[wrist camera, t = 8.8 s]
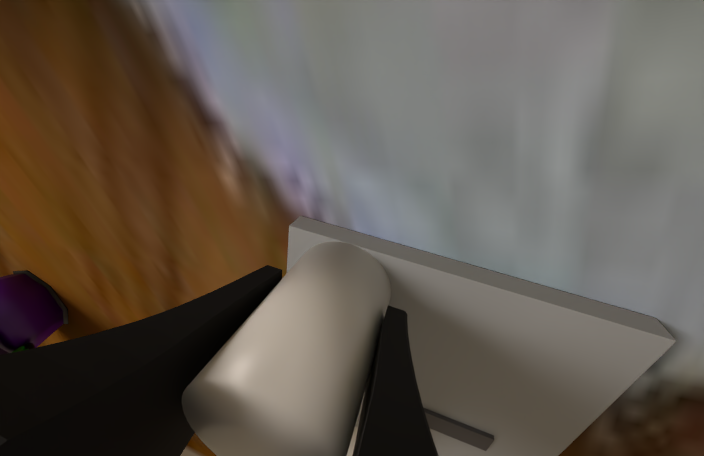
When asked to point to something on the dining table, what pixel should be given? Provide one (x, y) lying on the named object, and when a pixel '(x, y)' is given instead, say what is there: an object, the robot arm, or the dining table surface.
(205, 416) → the cap
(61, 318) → the potion bottle
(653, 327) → the panel
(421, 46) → the dining table surface
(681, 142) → the dining table surface
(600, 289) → the dining table surface
